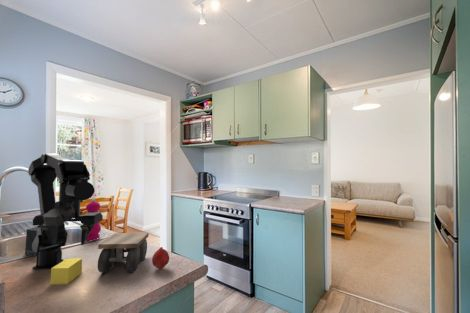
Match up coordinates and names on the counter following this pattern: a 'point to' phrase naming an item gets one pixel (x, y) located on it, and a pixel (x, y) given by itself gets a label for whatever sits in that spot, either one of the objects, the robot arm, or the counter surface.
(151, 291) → the counter surface
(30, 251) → the small box
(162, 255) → the onion
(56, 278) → the block
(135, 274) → the counter surface
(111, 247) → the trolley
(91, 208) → the pepper mill
